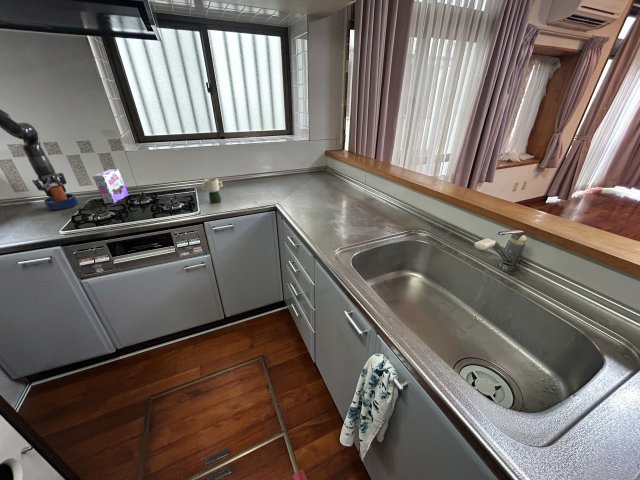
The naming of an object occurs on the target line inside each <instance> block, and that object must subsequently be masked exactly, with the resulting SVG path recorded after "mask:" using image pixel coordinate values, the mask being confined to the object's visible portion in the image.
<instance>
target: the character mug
mask: <svg viewBox="0 0 640 480" xmlns="http://www.w3.org/2000/svg"><path fill="white" fill-rule="evenodd" d="M203 181H204V183H202V184H201V188H202V190H204V191H205V190H206V191H207V192H208V196H209V202H210V203H218V202H221V201H222V197H221V194H220V192H219V191H220V188H223V181H222V180H219V179H218V177H208V178H204V180H203Z"/></svg>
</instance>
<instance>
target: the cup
mask: <svg viewBox="0 0 640 480" xmlns="http://www.w3.org/2000/svg"><path fill="white" fill-rule="evenodd" d="M49 190H50V192H51V194H52V195H53V197H51V198H52V200H53V202H56V201H62V200H66V199H68V198H67V196H66V194H67V193H66V192H64V190H63V188H62V186H60V185H57V184H56V185H52V186H51V185H50V186H49Z"/></svg>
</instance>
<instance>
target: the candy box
mask: <svg viewBox="0 0 640 480" xmlns="http://www.w3.org/2000/svg"><path fill="white" fill-rule="evenodd" d="M92 178H93V180H94V183H95V185H96V187H97V190H98V192H99V195H100V197H101V199H102V201H103V203H104V204H116V203H118V202H120V201H122V200H123V199H125V198H127V197H128V196H129V195H130V194H129V191H128V189H127V187H126V184H125V182H124V179H123V177H122V174H121V171H120V169H119V168H115V169H114V168H113V169H112V168H111V169H107V170H104V171H102V172H99V173H97V174H93V175H92Z"/></svg>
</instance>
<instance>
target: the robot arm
mask: <svg viewBox="0 0 640 480" xmlns="http://www.w3.org/2000/svg"><path fill="white" fill-rule="evenodd" d="M0 129H2V130H3V131H4V132H6V133H7V134H8V135H10V136H11V137H14V138H15V139H19V140H22V141H23V144H22V146H21V147H22V150H23V151H24V154H25V155H26V157H27V160H28V162H29V164H30V166H31V168H32V169H33V171H34V173H35V175H36V176H37V178H36V179H32V180H31V181H32V183H33V184H34V186H35V188H37V190H38V191H39V192H40V191H41V192H44V193H45V195H46V197H48V198H49V197H53V195H52V194H51V192H50V190H49V187H51V185H52V184H56V185H60V186H62V188H63V190H64V192H65V193H67V189H66V187H65V185H66V184H67V180H66V178H65V175H64V172H57V173H56V171H55V168H54V167H53V164H52V163H51V161H50V159H49V157H48V155H47V154H46V153H45V150H44V149H43V147H42V144H41V140H40V139H41V138H40V136H39V133H38V131H37V129H36V128H35V126H33V125H32V124H30V123H28V122H25V121H23V122H16V121H15V120H13V119H12V117H11V115H10V114H9V113H7V112H6V111H4V110H3V109H0Z"/></svg>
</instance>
